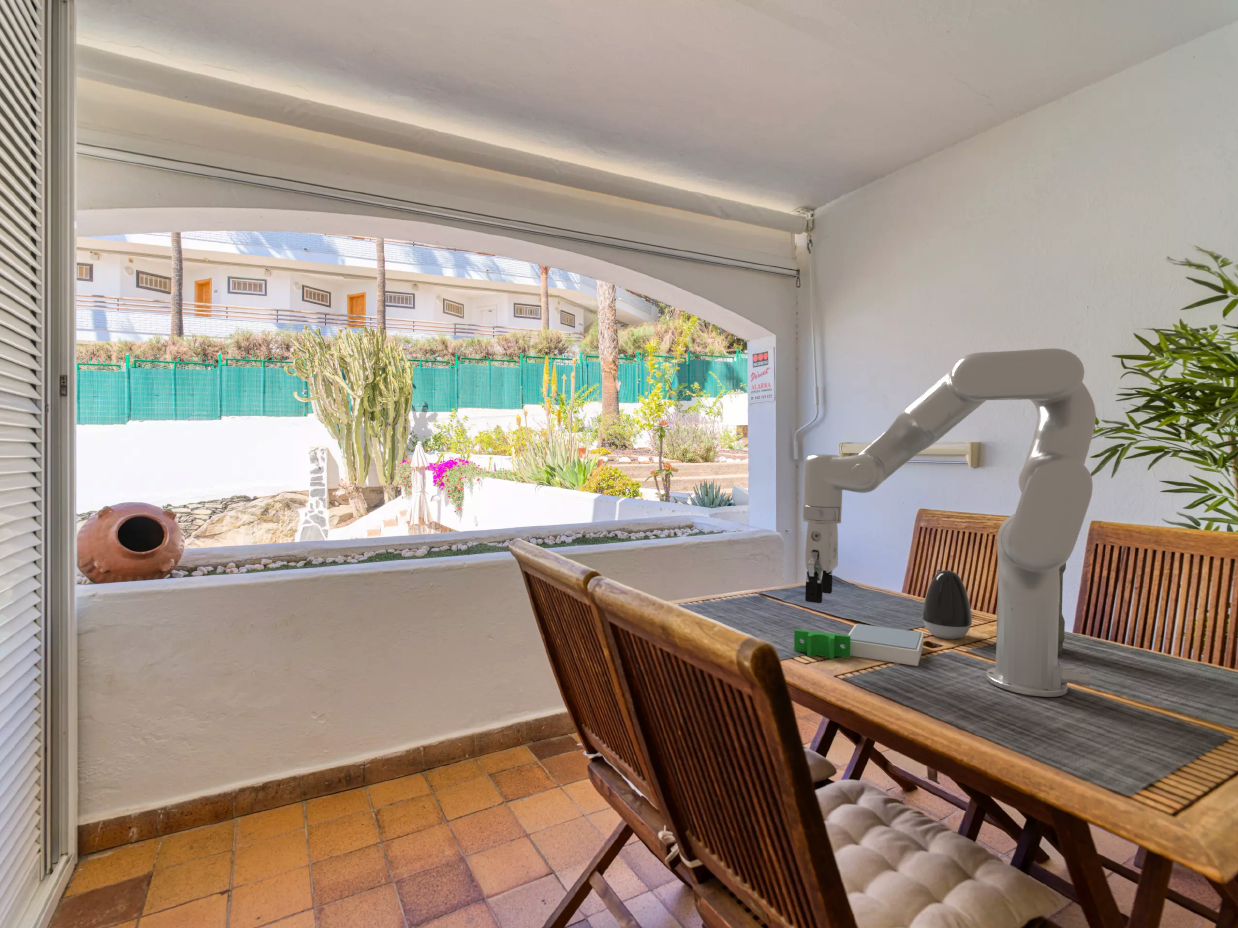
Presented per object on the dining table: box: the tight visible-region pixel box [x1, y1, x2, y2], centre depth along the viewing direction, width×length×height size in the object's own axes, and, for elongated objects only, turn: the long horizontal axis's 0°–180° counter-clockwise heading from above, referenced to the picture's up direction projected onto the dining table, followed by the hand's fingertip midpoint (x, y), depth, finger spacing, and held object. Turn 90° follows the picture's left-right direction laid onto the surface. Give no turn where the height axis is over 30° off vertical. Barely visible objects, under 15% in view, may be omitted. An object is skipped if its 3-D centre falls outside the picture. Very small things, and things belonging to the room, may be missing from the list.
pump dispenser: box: [921, 569, 973, 640], centre depth 148 cm, size 10×10×15 cm
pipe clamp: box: [793, 628, 851, 660], centre depth 134 cm, size 11×4×5 cm, turn 67°
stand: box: [843, 623, 924, 667], centre depth 137 cm, size 14×14×3 cm
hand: (818, 597), depth 132 cm, fingers open, 9 cm apart
